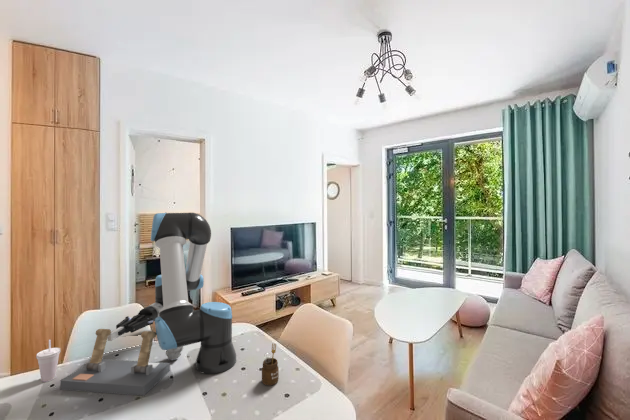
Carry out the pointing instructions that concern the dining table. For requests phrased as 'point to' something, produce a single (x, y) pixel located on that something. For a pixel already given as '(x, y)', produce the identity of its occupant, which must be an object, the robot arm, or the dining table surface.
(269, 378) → the utensil holder
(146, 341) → the lever
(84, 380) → the switch unit
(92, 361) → the lever
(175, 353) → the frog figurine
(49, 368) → the smoothie
